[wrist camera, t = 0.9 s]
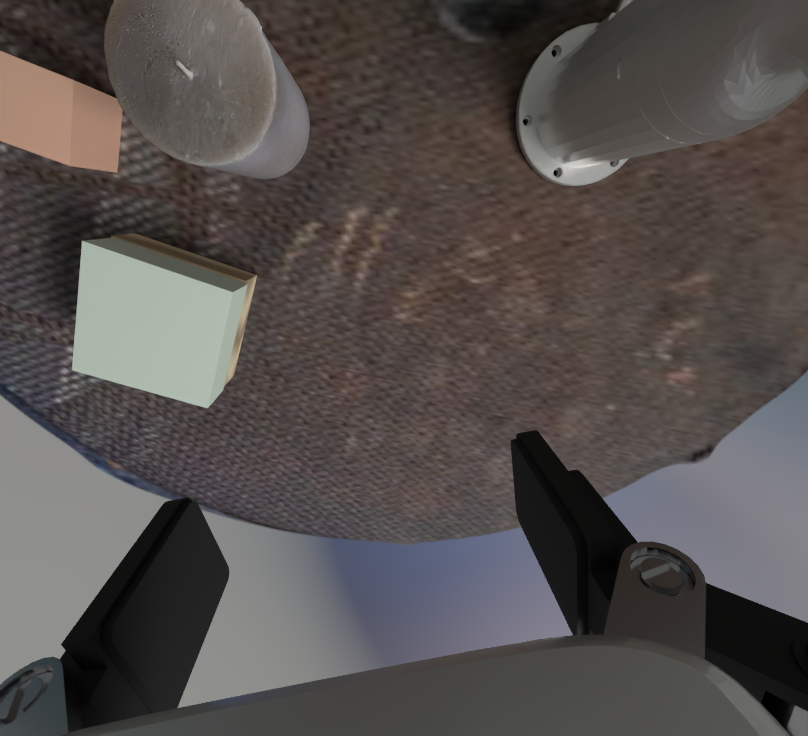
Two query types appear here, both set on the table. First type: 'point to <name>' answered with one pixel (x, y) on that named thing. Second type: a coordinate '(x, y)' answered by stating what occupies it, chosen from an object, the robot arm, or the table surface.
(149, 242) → the birch slab
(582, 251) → the table surface
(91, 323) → the sage slab
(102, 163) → the terracotta cube
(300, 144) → the pillar candle
